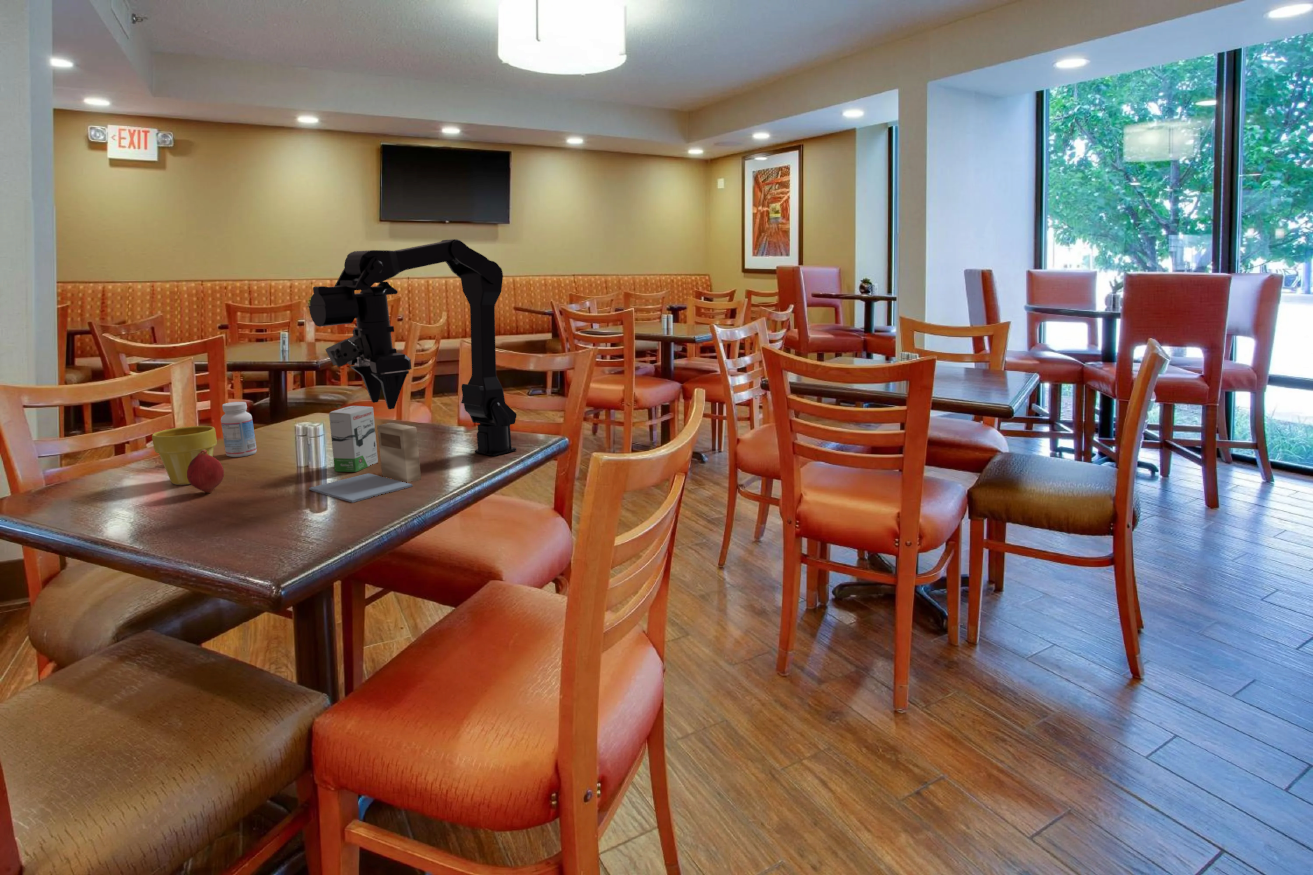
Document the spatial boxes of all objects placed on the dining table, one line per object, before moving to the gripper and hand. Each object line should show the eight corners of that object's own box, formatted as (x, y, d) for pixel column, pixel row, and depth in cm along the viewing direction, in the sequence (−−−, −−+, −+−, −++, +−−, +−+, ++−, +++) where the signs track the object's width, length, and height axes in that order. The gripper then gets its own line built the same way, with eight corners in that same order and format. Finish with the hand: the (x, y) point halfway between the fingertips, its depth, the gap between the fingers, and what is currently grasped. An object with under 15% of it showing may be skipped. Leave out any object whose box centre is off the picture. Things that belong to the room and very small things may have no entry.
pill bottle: (250, 449, 179) (244, 400, 176) (261, 453, 175) (254, 402, 172) (221, 454, 175) (214, 404, 172) (231, 459, 170) (224, 407, 168)
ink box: (356, 472, 157) (349, 413, 154) (333, 472, 158) (326, 412, 155) (379, 461, 165) (374, 405, 162) (358, 461, 166) (352, 404, 163)
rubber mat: (368, 475, 155) (368, 473, 154) (412, 486, 146) (412, 484, 146) (309, 489, 145) (309, 487, 145) (352, 502, 137) (352, 500, 137)
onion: (189, 499, 141) (182, 455, 140) (190, 491, 146) (184, 448, 145) (226, 494, 144) (220, 450, 142) (226, 486, 149) (220, 444, 147)
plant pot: (176, 474, 159) (169, 426, 156) (231, 472, 159) (224, 424, 157) (148, 489, 149) (140, 437, 146) (207, 486, 149) (199, 435, 147)
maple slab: (395, 473, 156) (391, 422, 154) (421, 479, 151) (416, 427, 149) (381, 476, 153) (376, 425, 151) (406, 483, 149) (401, 430, 146)
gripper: (313, 322, 149) (324, 405, 152) (342, 328, 134) (353, 419, 138) (373, 317, 155) (383, 397, 159) (407, 322, 140) (417, 410, 144)
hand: (383, 405), depth 150 cm, fingers open, 9 cm apart
